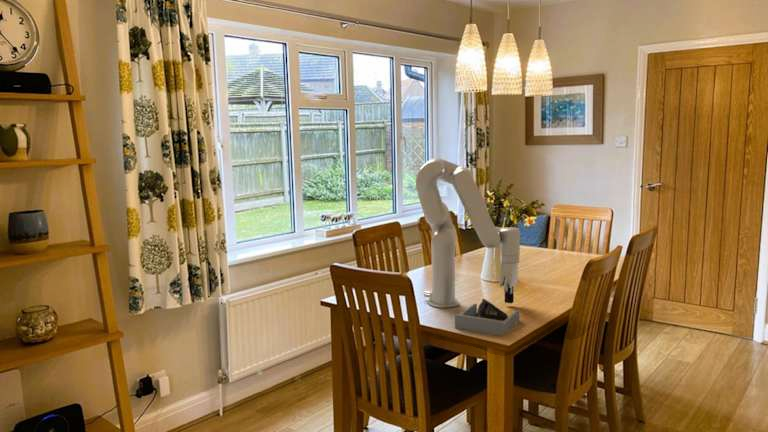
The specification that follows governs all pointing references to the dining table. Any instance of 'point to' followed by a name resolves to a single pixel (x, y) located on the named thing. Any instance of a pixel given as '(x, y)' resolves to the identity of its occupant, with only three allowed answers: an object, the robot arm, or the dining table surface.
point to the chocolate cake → (490, 311)
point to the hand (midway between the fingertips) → (509, 302)
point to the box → (484, 322)
